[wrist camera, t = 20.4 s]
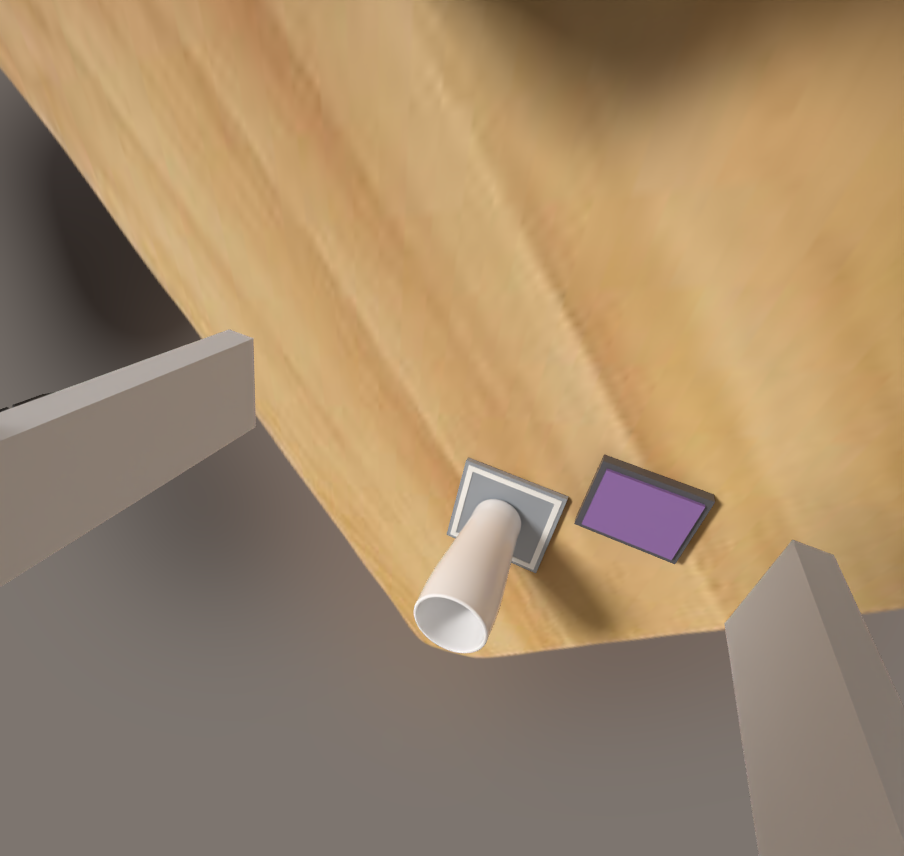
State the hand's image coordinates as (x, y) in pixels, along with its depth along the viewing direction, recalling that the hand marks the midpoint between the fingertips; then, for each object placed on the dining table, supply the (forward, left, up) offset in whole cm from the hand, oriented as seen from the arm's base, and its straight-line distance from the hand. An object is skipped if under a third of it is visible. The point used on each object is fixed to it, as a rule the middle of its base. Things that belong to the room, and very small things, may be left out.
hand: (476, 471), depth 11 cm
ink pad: (+11, -20, -32) cm, 39 cm away
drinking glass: (-1, -27, -31) cm, 42 cm away
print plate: (-1, -28, -32) cm, 42 cm away
